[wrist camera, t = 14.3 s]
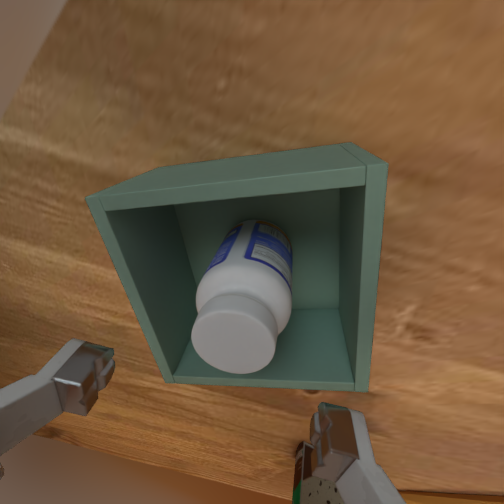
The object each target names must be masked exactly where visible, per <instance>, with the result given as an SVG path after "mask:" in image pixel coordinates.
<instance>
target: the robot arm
mask: <svg viewBox="0 0 504 504" xmlns="http://www.w3.org/2000/svg"><path fill="white" fill-rule="evenodd" d="M113 355H114V350H113V348H109V347H105V346H102V345H98V344H94V343H90V342H87V341H83V340H79V339H75V338H73V339H71V340H70V341H68V342H67V343H66V344H65V345H64V346H63V347H62V348H61V349H60V350H59V351H58V352H57V353H56V354H55V355H54V357H53V358H52V359H51V360H50V361H49V362H48V363H47V364H46V365H45V366H44V367H43V368H42V369H41V370H40V371H39V372H38V373H37V374H36V375H29V376H27V377H25V378H23V379H21V380H18V381H16V382H14V383H12V384H10V385H8V386H6V387H4V388H2V389H0V456H1V455H2V454H4V453H5V452H7V451H8V450H9V449H11V448H12V447H14V446H15V445H17V444H18V443H20V442H21V441H22V440H24V439H25V438H27V437H28V436H30V435H31V434H33V433H34V432H36V431H37V430H38V429H40V428H41V427H43V426H44V425H46V424H47V423H48V422H50V421H51V420H53V419H54V418H56V417H57V416H59V415H60V414H61V413H63V411H65V412H69V413H74V414H78V415H82V416H87V414H88V413H89V411H90V410H91V408H92V407H93V405H94V404H95V402H96V401H97V399H98V391H100V390H102V389H103V388H105V387H106V386H107V384H108V383H109V381H110V380H111V378H112V375H113V373H114V369H115V361H114V360H113V359H112V357H113ZM310 441H311V443H312V445H313V446H314V449H313V451H312V452H311V469H312V476H315V477H318V478H322V479H325V480H328V481H332V482H335V485H336V487H337V489H338V491H339V494H340V496H341V498H342V500H343V502H344V504H406V502H405V501H404V499H403V498H402V496H401V495H400V493H399V492H398V491H397V489H396V488H395V486H394V485H393V483H392V482H391V480H390V479H389V478H388V476H387V475H386V473H385V472H384V470H383V469H382V467H381V466H380V465H377V464H376V463H375V458H374V454H373V450H372V446H371V442H370V438H369V434H368V430H367V425H366V421H365V417H364V415H363V413H362V412H360V411H356V410H352V409H348V408H345V407H341V406H337V405H333V404H329V403H324V402H321V403H320V404H319V406H318V412H316V413H314V414H313V416H312V418H311V423H310ZM3 475H4V468H3V466H2V465H1V463H0V479H1V478H2V477H3Z"/></svg>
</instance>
